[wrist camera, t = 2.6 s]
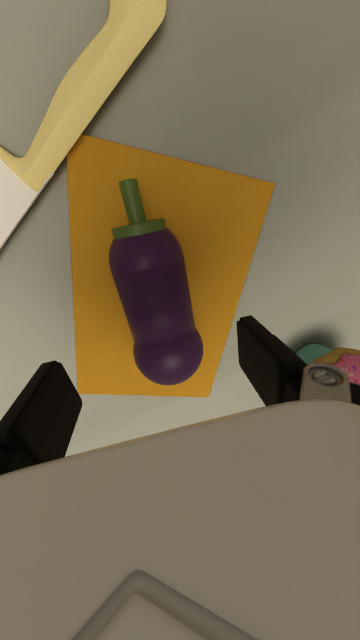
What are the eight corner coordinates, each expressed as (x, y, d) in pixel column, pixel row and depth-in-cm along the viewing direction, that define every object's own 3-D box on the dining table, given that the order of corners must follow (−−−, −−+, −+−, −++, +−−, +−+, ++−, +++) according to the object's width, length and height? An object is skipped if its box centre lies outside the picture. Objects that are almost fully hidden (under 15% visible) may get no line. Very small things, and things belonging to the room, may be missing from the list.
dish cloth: (66, 131, 14) (65, 129, 14) (273, 184, 17) (275, 183, 17) (78, 391, 24) (77, 393, 24) (207, 395, 27) (208, 397, 27)
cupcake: (274, 388, 28) (349, 490, 18) (279, 336, 25) (378, 428, 14) (333, 375, 29) (440, 468, 18) (346, 323, 25) (493, 401, 14)
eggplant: (89, 194, 16) (55, 181, 10) (171, 178, 16) (184, 157, 10) (144, 362, 23) (142, 408, 18) (199, 349, 23) (215, 391, 18)
